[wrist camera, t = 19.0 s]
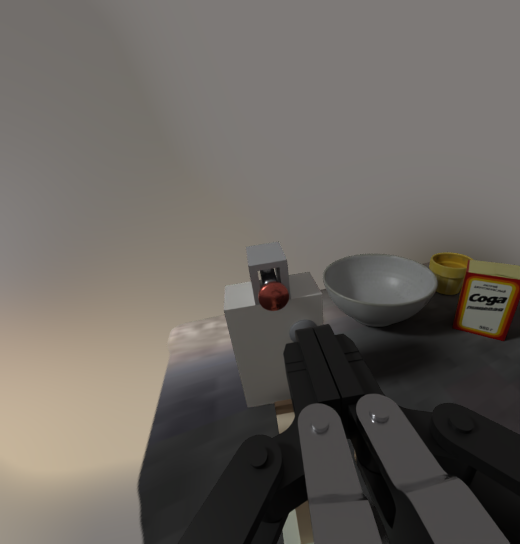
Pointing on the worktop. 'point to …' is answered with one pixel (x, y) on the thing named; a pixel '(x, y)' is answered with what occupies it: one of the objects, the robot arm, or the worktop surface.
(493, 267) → the baking soda box
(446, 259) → the plant pot
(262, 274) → the ball
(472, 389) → the worktop surface
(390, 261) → the decorative bowl
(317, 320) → the grey tall flat block
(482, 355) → the worktop surface
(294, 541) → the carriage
